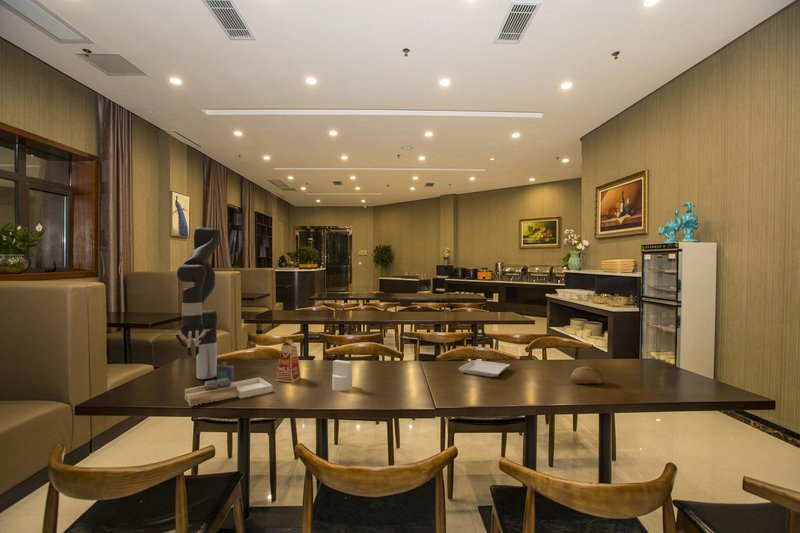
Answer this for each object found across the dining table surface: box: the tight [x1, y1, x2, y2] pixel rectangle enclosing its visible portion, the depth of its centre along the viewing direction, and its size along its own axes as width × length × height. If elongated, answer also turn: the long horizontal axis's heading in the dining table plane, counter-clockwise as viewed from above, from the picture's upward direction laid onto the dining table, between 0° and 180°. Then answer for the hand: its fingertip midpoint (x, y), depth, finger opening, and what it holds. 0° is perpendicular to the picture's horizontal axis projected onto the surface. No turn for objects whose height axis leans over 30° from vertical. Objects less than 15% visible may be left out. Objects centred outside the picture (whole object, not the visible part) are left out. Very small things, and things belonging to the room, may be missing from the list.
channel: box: [184, 382, 238, 407], centre depth 170 cm, size 10×18×4 cm, turn 129°
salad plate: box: [458, 359, 511, 378], centre depth 210 cm, size 21×21×3 cm
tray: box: [231, 377, 274, 399], centre depth 180 cm, size 16×14×3 cm
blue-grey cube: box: [217, 378, 230, 389], centre depth 173 cm, size 4×4×4 cm
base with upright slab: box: [331, 359, 353, 392], centre depth 184 cm, size 9×9×12 cm
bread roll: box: [570, 365, 605, 385], centre depth 189 cm, size 10×15×8 cm, turn 90°
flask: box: [215, 361, 235, 383], centre depth 188 cm, size 9×3×11 cm, turn 74°
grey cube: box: [204, 379, 218, 391], centre depth 170 cm, size 4×4×4 cm
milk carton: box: [275, 338, 301, 383], centre depth 198 cm, size 9×9×20 cm
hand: (192, 355), depth 165 cm, fingers closed
